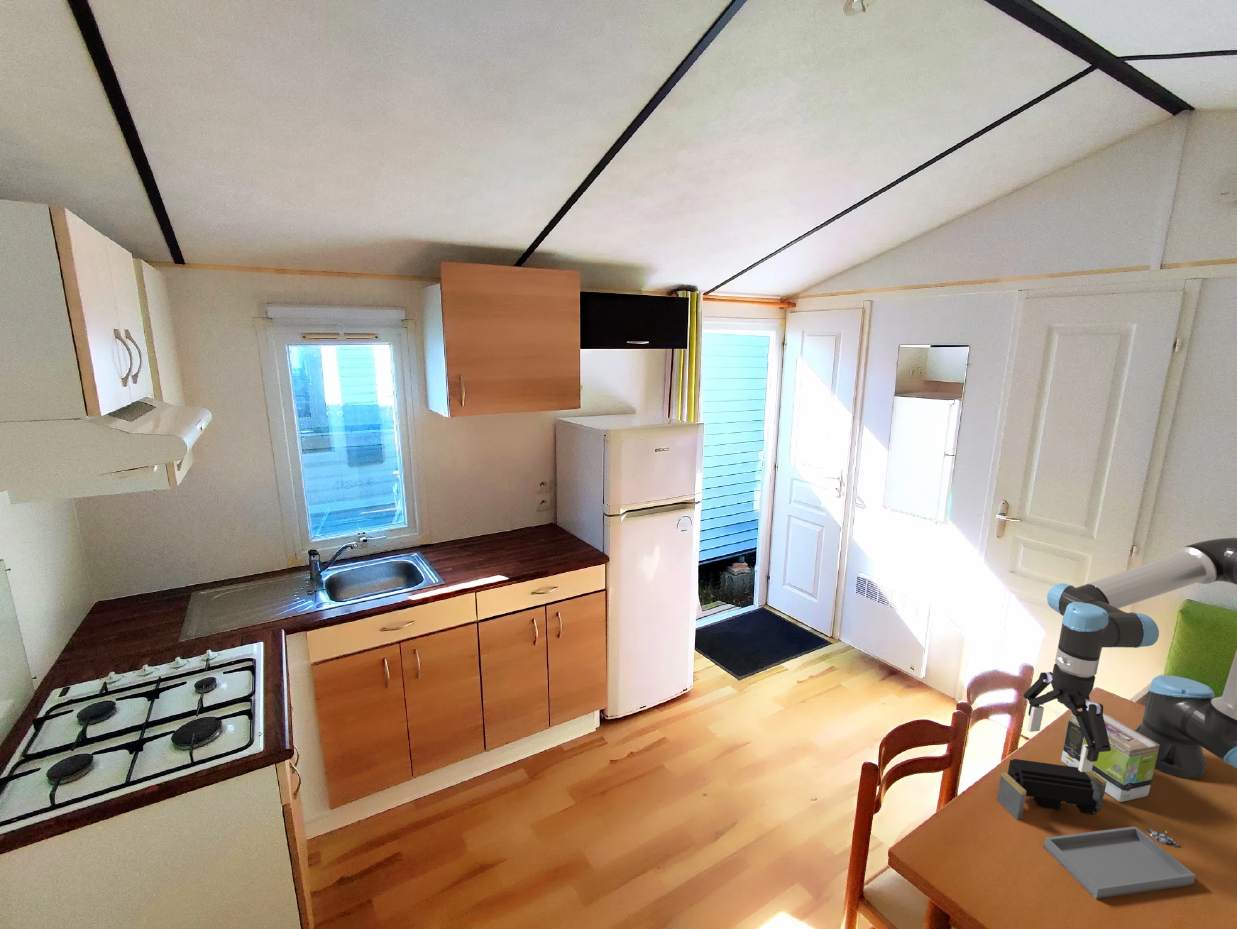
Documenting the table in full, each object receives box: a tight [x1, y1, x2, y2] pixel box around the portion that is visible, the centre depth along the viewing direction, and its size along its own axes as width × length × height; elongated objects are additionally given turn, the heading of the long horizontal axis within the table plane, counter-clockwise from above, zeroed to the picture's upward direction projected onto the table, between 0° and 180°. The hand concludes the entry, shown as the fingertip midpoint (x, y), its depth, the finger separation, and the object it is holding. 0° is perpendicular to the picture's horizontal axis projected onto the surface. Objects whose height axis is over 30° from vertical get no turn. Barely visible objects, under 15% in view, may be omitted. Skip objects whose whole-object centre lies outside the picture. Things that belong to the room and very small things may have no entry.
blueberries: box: [1146, 828, 1181, 849], centre depth 128 cm, size 7×8×2 cm
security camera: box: [1007, 758, 1098, 816], centre depth 136 cm, size 7×18×10 cm, turn 78°
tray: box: [1043, 826, 1196, 900], centre depth 121 cm, size 23×12×2 cm, turn 98°
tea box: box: [1060, 712, 1159, 803], centre depth 144 cm, size 15×10×15 cm, turn 14°
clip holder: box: [996, 767, 1107, 821], centre depth 136 cm, size 23×6×8 cm, turn 98°
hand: (1057, 749), depth 134 cm, fingers open, 13 cm apart
